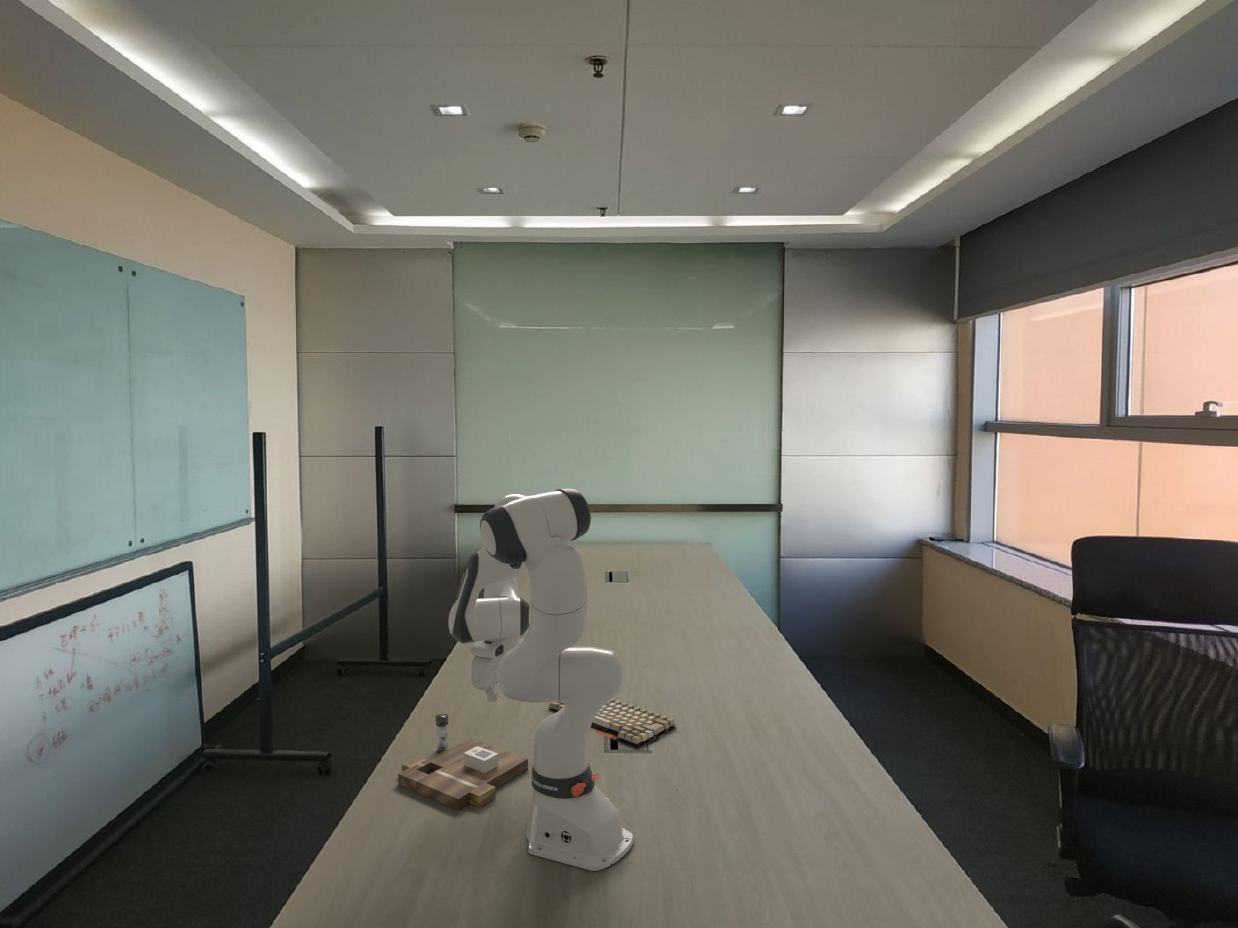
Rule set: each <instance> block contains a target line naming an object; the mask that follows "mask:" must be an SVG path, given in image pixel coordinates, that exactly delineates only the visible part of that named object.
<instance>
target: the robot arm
mask: <svg viewBox="0 0 1238 928" xmlns="http://www.w3.org/2000/svg"><path fill="white" fill-rule="evenodd" d="M591 515H592V514H591V509H590V506H589V503H588V500H587V499H586V498H585V497H584V495H583V494H582V493H581V492H579V491H578V490H577V489H575V488H558V489H556V490H554V491H549V492H548V491H547V492H542V493H537V494H534V495H527V496H526V495H525V494H520V493H511V494H507V495H505V496H503V497H501V498H500V499H499V500H497V502H496V503H495V505H494V507H492V508H490V509H488V510H487V511H486V512H484V513H483V515H482V516H481V519H480V521H479V531H480V539H481V543H482V544H483V546H482V547H481V548H480V549H479V550H478V551H476V552H475V553H473V554H472V555H470V557H469V559H468V560H467V563H466V565H465V568H464V572H463V574H462V577H461V579H460V580H461V581H460V584H459V588H458V591H457V592H456V593H457V594H456V597H455V598H454V601H453V603H452V605H451V609H450V611H449V614H448V630H449V634H450V635H451V637H452V638H454V640H456V641H457V642H458V643H461V644H462V645H463V644H469V643H474V642H475V643H474V644H473V645H472V646H471V648H470V654H471V655H472V656H473V658H472V660H471V666H470V667H471V675H470V676H471V685H472V687H473V688H474V689H475V690H476V689H477V690H481V691H485V693H486V698H487V702H489V703H494V702H495V701H497V700H498V694H497V692H495V686H496V685H497V684H498V688H499V689H500V691H501V693H502V695H503V696H504V697H505V698H506V699H509V700H513V701H514V700H515V701H520V702H524V703H550V702H560V703H564V704H565V705H564V707H563V708H562V709H561V710H560V711H558V712H555V713H553V714H550V715H549V716H547V717H545V718H544V719H542V720H541V721H540V722H539V723H538V725H537V726H536V728H535V731H534V733H533V756H534V757H533V764H532V767H531V786H532V788H533V789H532V790H533V791H532V792H533V794H532V801H531V802H532V803H531V810H530V815H529V816H530V817H529V821H528V825H527V828H526V830H525V836H526V840H527V841H528V850H527V852H528V854H530V855H533V856H536V857H540V858H544V859H547V860H551V861H554V862H559V863H562V864H566V865H570V866H573V867H577V868H580V869H583V870H588V871H591V872H593V871H594V872H596V871H600V870H604V869H607V868H608V867H611V866H612V865H614V864H615V863H617V862H618V861H619V860H621V859H622V858H624V856H625V855H626V854H627V853H628V852H629V851H630V850H631V848H632V846H633V844H634V835H633V834H634V833H632V832H630V831H629V830H627V829H626V828H624V827H623V824H622V818H621V817H622V816H621V814H620V811H619V809H618V808H617V807H616V805H614V803H612V801H611V799H610V798H608V797H606V795H605V794H604V793H603V792H602V791H601V790H600V789H599V787H598V786H596V783H595V781H596V780H597V779H598V778H599V776H598V775H599V772H595V774H593V773H592V769H591V766H590V763H589V762H588V761H589V760H588V758H589V756H588V755H589V753H588V751H589V738H590V730H591V729H592V728H591V724H592V722H593V720H594V718H595V716H596V714H597V713H598V711H599V710H600V709H601V708H602V707H603V706H604V705H605V704H606V703H607V702H608V701H610V700H611V699H612V698H613V699H615V697H616V696H617V695H618V694H619V693H620V690H621V688H622V687H623V683H624V677H625V670H624V665H623V662H622V660H621V659H620V657H619V655H618V654H617V653H616V652H615V651H614V650H612V649H607V648H603V647H596V646H576V644H577V643H579V642H580V640H581V639H582V637H583V636H584V635H585V633H586V631H587V627H588V588H587V580H586V579H587V577H586V572H585V567H584V564H583V563H584V562H583V559H582V556H581V554H580V553H579V551H578V550H577V549H576V548H574V547H573V546H572V545H570V544H568V542H570V541H571V542H572V541H575V540H577V539H579V538H581V537H582V536H584V535H585V534H586V533H588V531H589V529H590V526H591V523H592V522H591V521H592V517H591ZM566 543H567V544H566ZM526 573H528V575H529V602H527V600H526V599H524V598H522V597H521V596H520V593H519V584H518V579H517V578H519V577H521V576H523V575H525V574H526ZM482 590H483V591H484V592H483V597H482V598H479V595H480V593H481V591H482ZM527 631H528V632H527ZM526 632H527V634H525V633H526ZM574 645H575V646H574ZM621 857H622V858H621ZM620 858H621V859H620ZM611 864H612V865H611Z"/></svg>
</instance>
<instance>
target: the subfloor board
mask: <svg viewBox="0 0 1238 928" xmlns="http://www.w3.org/2000/svg"><path fill="white" fill-rule="evenodd" d="M477 746H478V747H481V748H484V749H487V750H490V751H492V752H495V753H498V766H497V767H495V768H493V769H492V770H490V771H488V772H486V773H483V772H480V771H478V770H475V769H473V768H470V767H467V766H465V765H464V753H465V752H467V751H469V750H471V749H473V748H475V747H477ZM528 769H529V759H528V758H526V757H524V756H520V755H518V754H515V753H512V752H510V751H507V750H503V749H501V748H498V747H496V746H493V745H489V744H487V743H484V742H481V741H478V740H476V739H474V738H468V739H466V740H464V741H462V742H460V743H458V744H456V745H453V746H452V747H449V748H448V750H446V751H444V752H441V753H440V752H438V754H436V755H434V756H431V757H429V758H427V759H425V758H424V757H423V758H422V757H420V756H417V757H415V758H413V759H410V760H408V761H406V762H404V763H402V764H401V772H399V773H398V774H397V776H398V777H397V778H398V779H397V782H398V785H399V786H402V787H404V788H407V789H409V790H411V791H414V792H415V793H418V794H421V795H422V796H425V797H428V798H430V799H432V800H434V801H437V802H438V803H441V804H444V805H446V806H448V807H450V808H452V809H455V810H457V811H460V810H461V809H462V808H464V807H466V806H467V805H470V804H471V805H473V806H476V807H479V808H481V807H482V806H484V805H486V804H487V803H490V801H492V800H494V799H496V788H499V787H500V786H501V785H503V784H506V782H508V781H509V780H512V779H513V778H515V777H517V776H518V775H520V774H522V773H524V772H525V771H526V770H528Z"/></svg>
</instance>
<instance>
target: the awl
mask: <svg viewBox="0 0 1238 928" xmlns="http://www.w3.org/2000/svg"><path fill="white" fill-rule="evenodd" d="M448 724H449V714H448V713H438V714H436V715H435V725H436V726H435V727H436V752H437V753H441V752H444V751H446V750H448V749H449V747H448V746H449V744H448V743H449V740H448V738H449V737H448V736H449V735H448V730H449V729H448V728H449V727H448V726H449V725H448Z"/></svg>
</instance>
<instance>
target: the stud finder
mask: <svg viewBox="0 0 1238 928" xmlns="http://www.w3.org/2000/svg"><path fill="white" fill-rule="evenodd" d="M464 765H465V766H467V767H470V768H473V769H475V770H478V771H480V772H483V773H486V772H488V771H490V770H492V769H493V768H495V767H497V766H498V753H495V752H492V751H490V750H487V749H484V748H481V747H478V746H477V747H475V748H473V749H471V750H469V751H467V752H465V753H464Z"/></svg>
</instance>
